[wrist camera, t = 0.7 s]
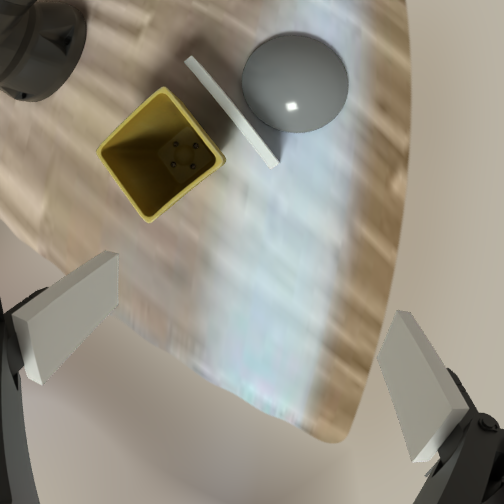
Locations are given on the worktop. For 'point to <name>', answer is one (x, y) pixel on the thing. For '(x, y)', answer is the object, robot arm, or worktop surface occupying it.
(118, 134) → the flower pot
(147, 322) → the worktop surface
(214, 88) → the wall
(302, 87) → the coaster
